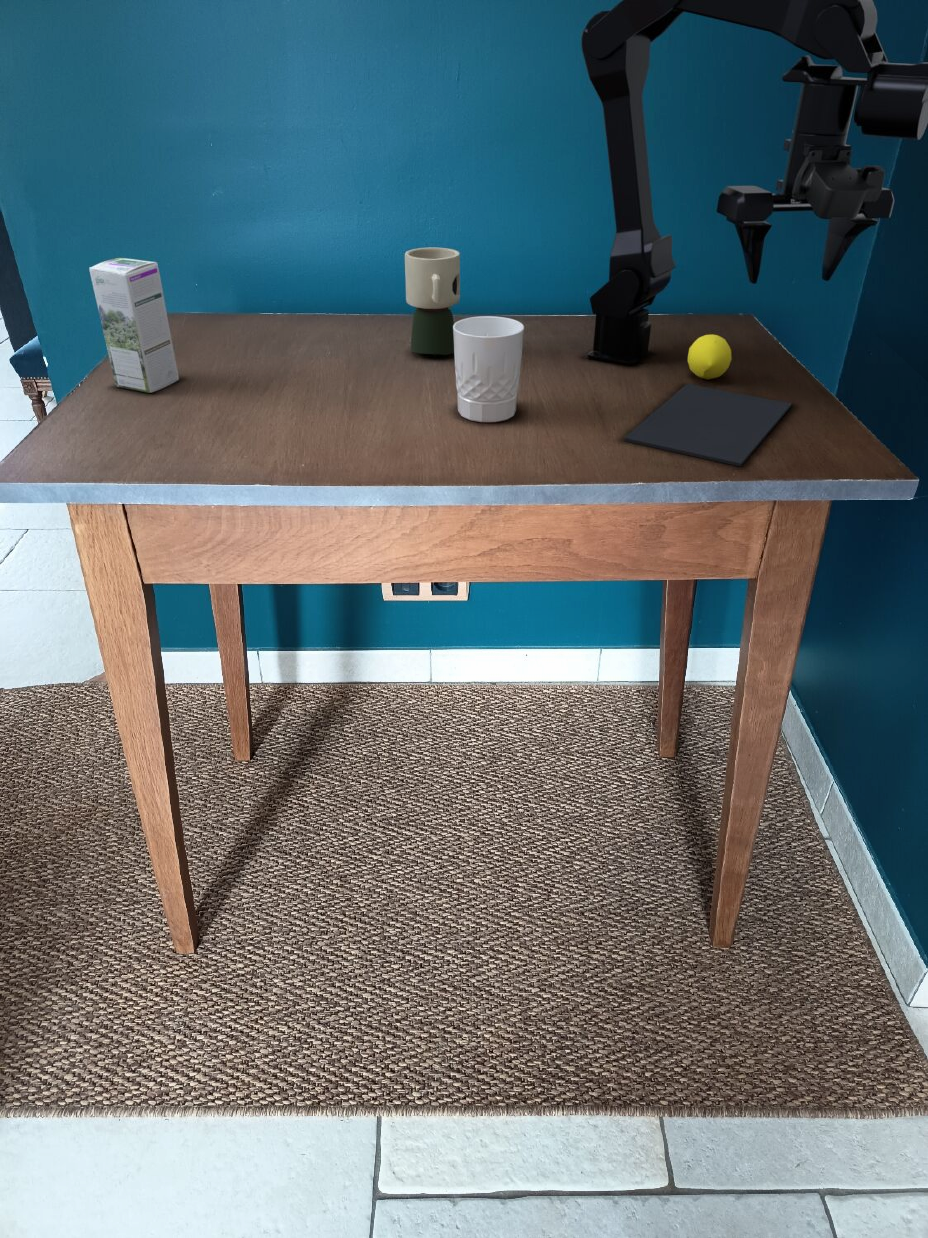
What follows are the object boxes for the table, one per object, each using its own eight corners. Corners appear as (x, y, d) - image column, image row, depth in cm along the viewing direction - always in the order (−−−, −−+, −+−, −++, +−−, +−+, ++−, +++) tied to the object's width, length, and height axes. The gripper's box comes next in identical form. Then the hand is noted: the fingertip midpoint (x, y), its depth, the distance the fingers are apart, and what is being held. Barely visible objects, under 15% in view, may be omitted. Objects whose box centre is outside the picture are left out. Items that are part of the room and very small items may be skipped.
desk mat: (623, 440, 101) (624, 437, 100) (686, 386, 115) (687, 383, 115) (740, 466, 95) (741, 463, 95) (791, 406, 109) (792, 403, 109)
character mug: (465, 364, 121) (465, 261, 114) (411, 367, 121) (408, 263, 113) (454, 339, 130) (454, 242, 123) (404, 341, 130) (401, 244, 122)
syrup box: (181, 379, 116) (160, 259, 108) (149, 395, 112) (125, 271, 104) (145, 373, 118) (122, 255, 110) (113, 388, 114) (86, 265, 106)
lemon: (729, 387, 114) (737, 344, 111) (685, 385, 115) (691, 342, 112) (725, 369, 120) (732, 328, 117) (683, 367, 121) (689, 325, 118)
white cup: (473, 429, 103) (473, 340, 98) (441, 406, 109) (440, 321, 103) (533, 417, 106) (537, 330, 101) (499, 395, 112) (502, 312, 106)
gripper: (773, 143, 91) (744, 303, 100) (942, 140, 94) (900, 296, 103) (726, 129, 100) (704, 277, 109) (882, 127, 103) (848, 272, 112)
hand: (789, 281), depth 108 cm, fingers open, 9 cm apart
